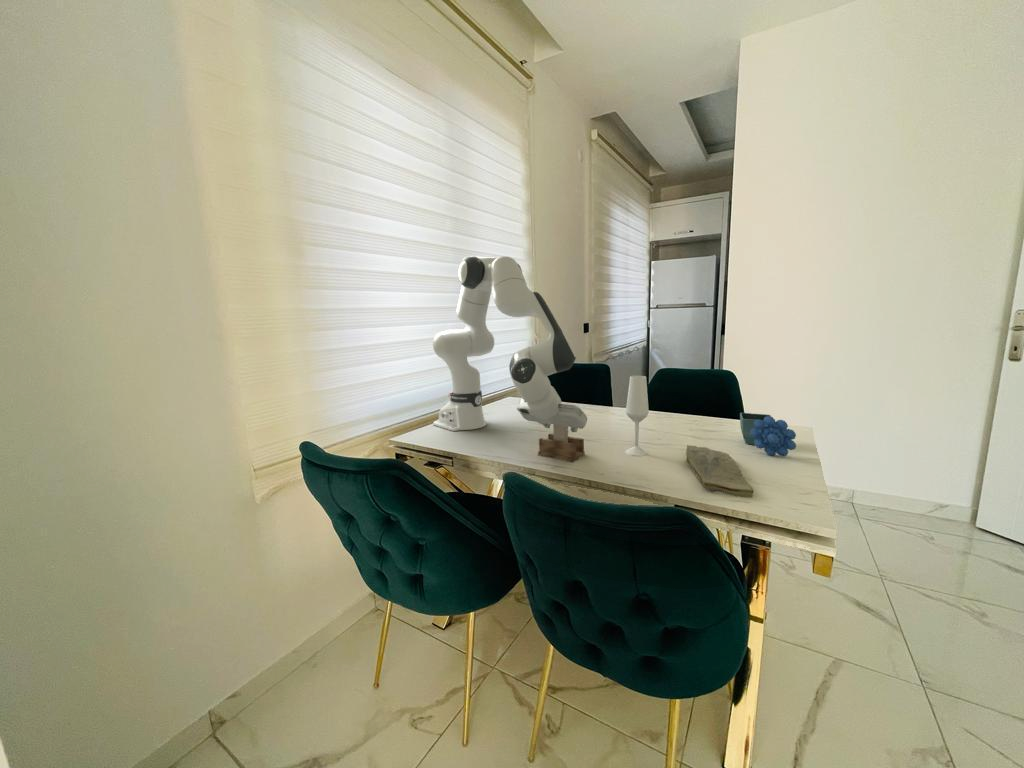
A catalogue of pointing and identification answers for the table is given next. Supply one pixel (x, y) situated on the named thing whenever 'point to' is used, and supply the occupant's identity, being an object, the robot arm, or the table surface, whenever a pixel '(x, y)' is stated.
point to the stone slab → (717, 471)
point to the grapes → (773, 436)
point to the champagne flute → (637, 408)
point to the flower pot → (749, 425)
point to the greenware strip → (560, 433)
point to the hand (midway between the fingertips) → (561, 428)
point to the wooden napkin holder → (561, 448)
